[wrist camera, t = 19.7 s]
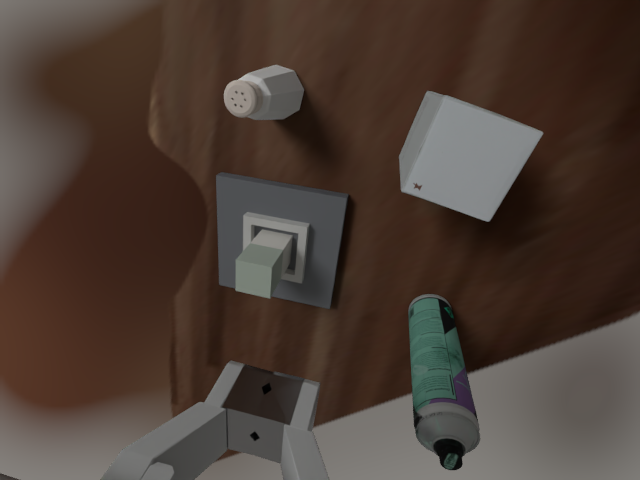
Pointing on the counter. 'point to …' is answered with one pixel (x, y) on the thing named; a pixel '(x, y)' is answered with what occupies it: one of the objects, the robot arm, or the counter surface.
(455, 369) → the spray can
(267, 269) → the block stack
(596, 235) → the counter surface
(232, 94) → the pepper shaker
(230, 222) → the square peg socket board
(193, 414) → the robot arm
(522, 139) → the supplement box
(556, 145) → the counter surface
